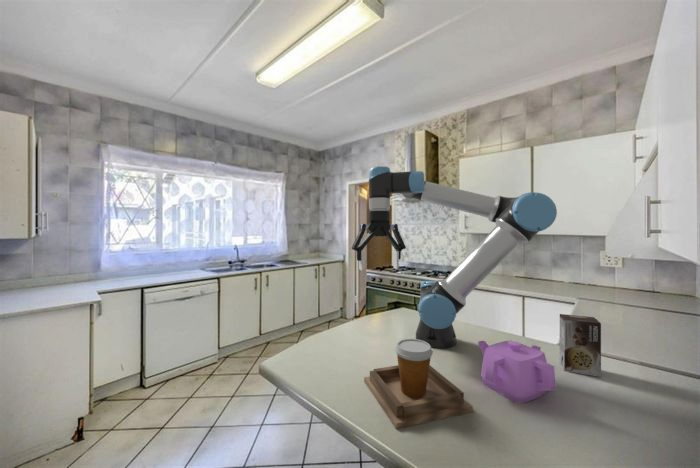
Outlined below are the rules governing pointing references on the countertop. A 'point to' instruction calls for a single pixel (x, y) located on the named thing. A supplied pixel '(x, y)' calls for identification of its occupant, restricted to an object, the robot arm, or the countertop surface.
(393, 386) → the cup caddy
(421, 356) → the disposable coffee cup
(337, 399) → the countertop surface
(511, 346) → the teakettle
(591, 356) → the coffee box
